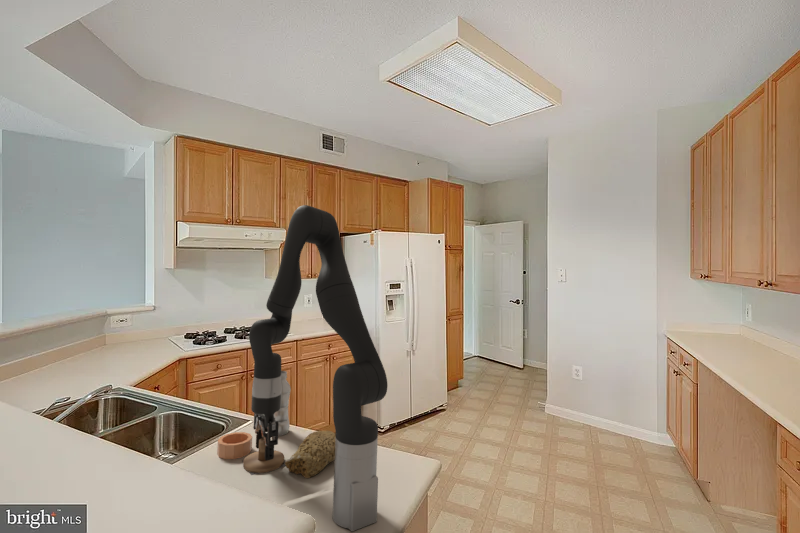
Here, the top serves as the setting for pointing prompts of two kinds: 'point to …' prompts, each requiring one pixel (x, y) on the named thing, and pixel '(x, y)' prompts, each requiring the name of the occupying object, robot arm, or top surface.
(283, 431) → the plastic bottle
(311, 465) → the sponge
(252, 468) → the lid
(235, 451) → the bowl
